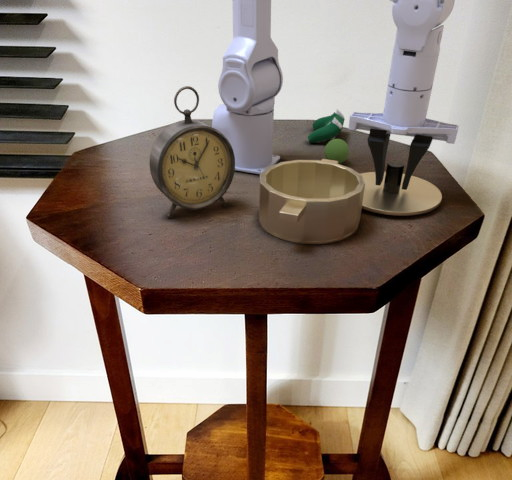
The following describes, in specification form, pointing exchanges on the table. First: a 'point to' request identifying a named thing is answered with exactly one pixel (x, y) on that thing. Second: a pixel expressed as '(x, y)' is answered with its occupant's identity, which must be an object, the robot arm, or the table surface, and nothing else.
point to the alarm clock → (192, 162)
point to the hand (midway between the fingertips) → (391, 184)
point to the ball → (337, 150)
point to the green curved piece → (327, 127)
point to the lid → (399, 193)
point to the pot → (310, 201)
